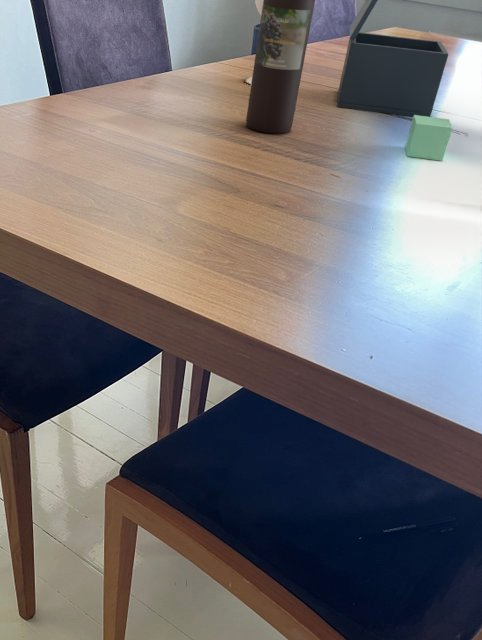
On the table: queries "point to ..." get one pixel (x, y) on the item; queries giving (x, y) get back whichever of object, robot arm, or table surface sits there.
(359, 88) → the cool box
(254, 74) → the wine bottle
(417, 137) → the mint toy cube
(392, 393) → the table surface
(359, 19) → the lid
